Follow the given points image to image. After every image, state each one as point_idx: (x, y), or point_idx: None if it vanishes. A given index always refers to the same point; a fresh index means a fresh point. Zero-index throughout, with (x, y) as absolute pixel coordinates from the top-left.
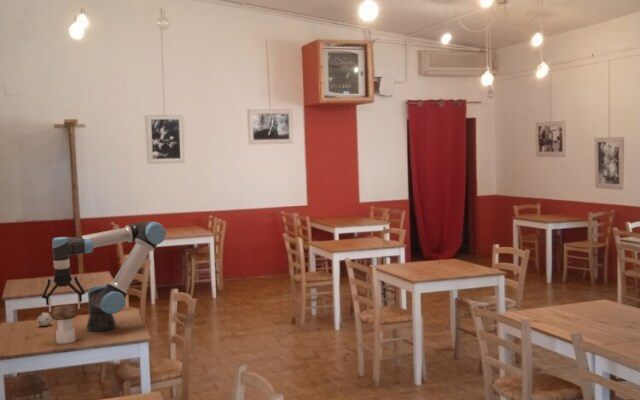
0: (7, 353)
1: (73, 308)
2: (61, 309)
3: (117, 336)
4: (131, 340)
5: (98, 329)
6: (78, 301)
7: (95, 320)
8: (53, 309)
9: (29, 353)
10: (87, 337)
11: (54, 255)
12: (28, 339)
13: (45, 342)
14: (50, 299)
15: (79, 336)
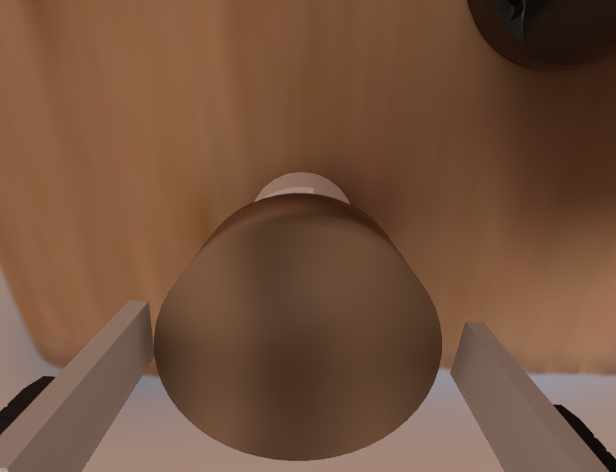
0: (35, 329)
1: (401, 417)
2: (270, 437)
3: (567, 262)
4: (586, 366)
5: (531, 64)
6: (509, 459)
7: (572, 18)
8: (177, 398)
9: (144, 372)
10: (422, 200)
11: None
12: (56, 44)
13: (189, 197)
14: (36, 439)
15: (384, 146)
